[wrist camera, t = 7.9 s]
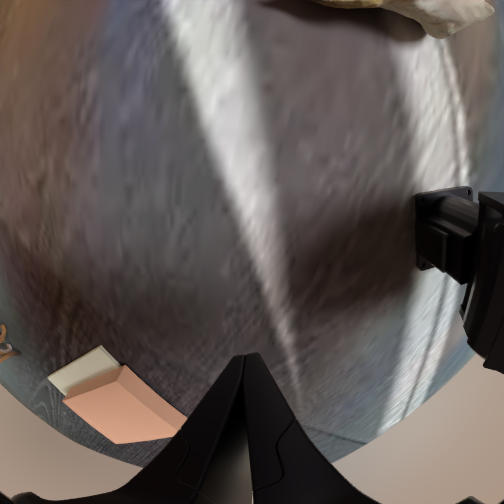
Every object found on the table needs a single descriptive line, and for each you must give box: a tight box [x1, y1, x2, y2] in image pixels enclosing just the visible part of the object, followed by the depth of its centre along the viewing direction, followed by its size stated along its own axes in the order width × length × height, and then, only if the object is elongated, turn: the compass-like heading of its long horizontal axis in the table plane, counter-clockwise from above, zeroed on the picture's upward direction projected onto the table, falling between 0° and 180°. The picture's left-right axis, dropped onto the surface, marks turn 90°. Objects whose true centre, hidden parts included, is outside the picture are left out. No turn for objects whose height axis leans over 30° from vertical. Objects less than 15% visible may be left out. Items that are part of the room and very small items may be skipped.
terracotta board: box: [63, 365, 187, 444], centre depth 26 cm, size 2×10×14 cm
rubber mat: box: [47, 345, 121, 396], centre depth 28 cm, size 16×16×1 cm
